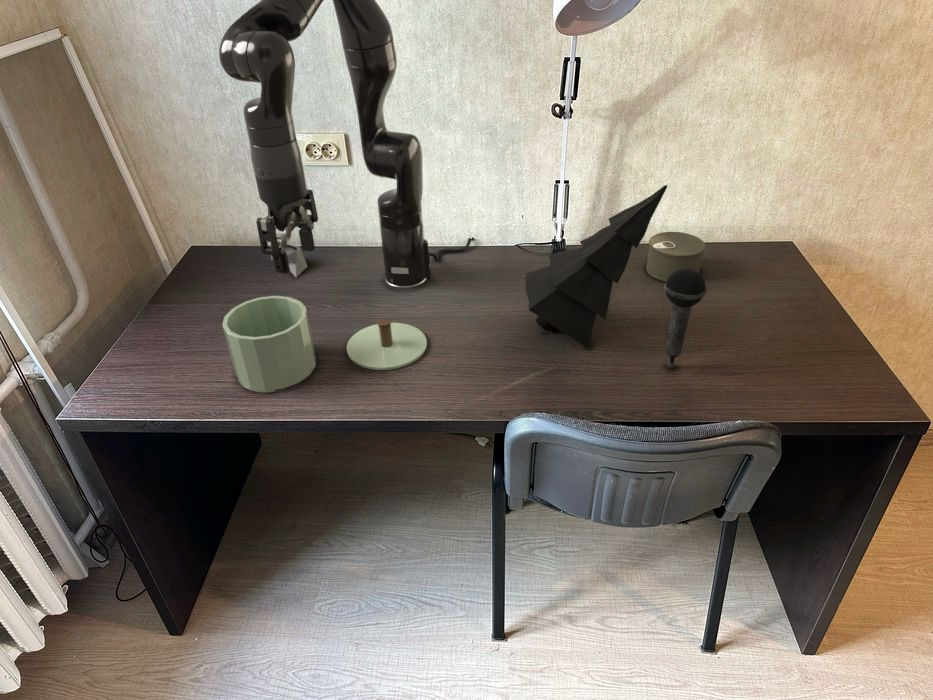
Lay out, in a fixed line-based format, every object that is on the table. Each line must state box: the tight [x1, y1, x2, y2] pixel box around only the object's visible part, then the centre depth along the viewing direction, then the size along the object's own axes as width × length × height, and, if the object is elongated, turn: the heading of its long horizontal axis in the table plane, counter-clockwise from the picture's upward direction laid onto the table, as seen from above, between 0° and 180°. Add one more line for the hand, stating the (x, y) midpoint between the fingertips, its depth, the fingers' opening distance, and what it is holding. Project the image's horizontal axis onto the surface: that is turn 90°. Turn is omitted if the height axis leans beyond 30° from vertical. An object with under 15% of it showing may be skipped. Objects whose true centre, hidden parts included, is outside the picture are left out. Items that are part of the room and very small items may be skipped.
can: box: [646, 231, 706, 282], centre depth 150 cm, size 12×12×7 cm
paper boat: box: [267, 240, 308, 278], centre depth 157 cm, size 12×6×9 cm
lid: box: [346, 318, 428, 371], centre depth 128 cm, size 15×15×6 cm
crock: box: [221, 295, 317, 394], centre depth 122 cm, size 14×14×12 cm
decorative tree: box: [525, 184, 668, 349], centre depth 125 cm, size 15×15×35 cm
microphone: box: [663, 268, 707, 369], centre depth 116 cm, size 7×7×20 cm
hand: (296, 260), depth 115 cm, fingers open, 8 cm apart
